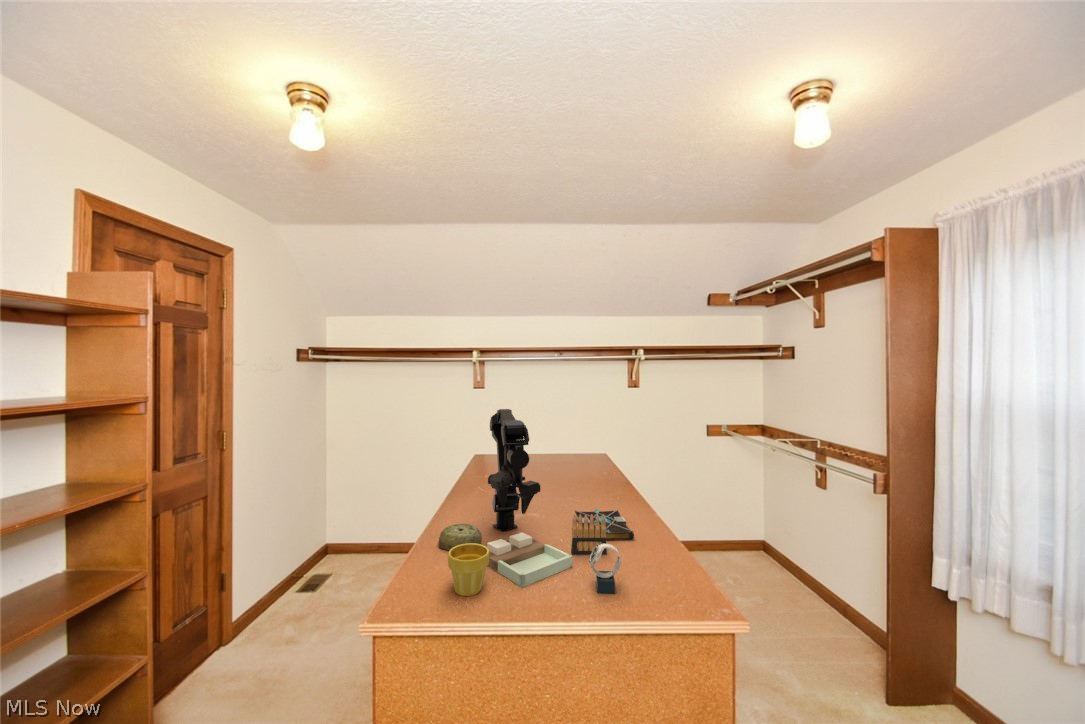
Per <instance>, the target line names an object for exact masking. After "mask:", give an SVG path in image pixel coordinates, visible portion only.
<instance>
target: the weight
mask: <svg viewBox="0 0 1085 724" xmlns="http://www.w3.org/2000/svg"><path fill="white" fill-rule="evenodd" d="M482 537H483V535H482V532H481V530H480V529H479V528H478V527H477V526H475V525H474V524H470V523H457V524H452V525H449V526H446V527H444V529H443V530H441V533H440V534H439V538H438V546H439V547H440V548H441V549H442V550H446V551H448V552H449V551H450V550H451V549H452V548H453V547H455V546H458V545H461V544H468V543H476V544H481V542H482Z"/></svg>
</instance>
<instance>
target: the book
mask: <svg viewBox="0 0 1085 724" xmlns="http://www.w3.org/2000/svg"><path fill="white" fill-rule="evenodd" d="M574 514H575V515H576V521H577V523H578V520H579V515H580V514H581V516H582V526H583V528H584V518H585V514H587V517H588V528H589V526H590V516H591V514H592V515H593V519H594V536H595V524H596V516H597V514H598V515H599V521H600V536H601V522H602V515H603V514H604V516H605V523H606V541H635V533H634V530H631V529H630V527H629V526H628V525H627V521H626V519H625V518H624V517H623V516H621V514H620V512H619V509H618V508H617V509H616V510H607V511H599V510H598V508H596V509H595V510H594V511H579V510H574Z"/></svg>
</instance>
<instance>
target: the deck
mask: <svg viewBox="0 0 1085 724" xmlns="http://www.w3.org/2000/svg"><path fill="white" fill-rule="evenodd" d="M505 541H506V542H508V543H509V539H506V540H505ZM510 544H511V543H510ZM544 545H545V544H544V543H543V542H540V541H538V540H537V539H535V538H532V544H530V545H527V546H524V547H521V548H518V547H516V546H514V545H513V544H511V551H509V552H506V553H503V554H500V555H495V554H494V553H492V552H490V551H489V564H488V566H487V567H489V568H491V569H492V570H494V571H495V572H497V573H499V572H498V561H500V560H501V561H503V562H505V563H506V564H508V565H512V564H515V563H518V562H521V561H523V560H526V559H529V558H532V557H534V556H537V555H540V554H542V553H544Z"/></svg>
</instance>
